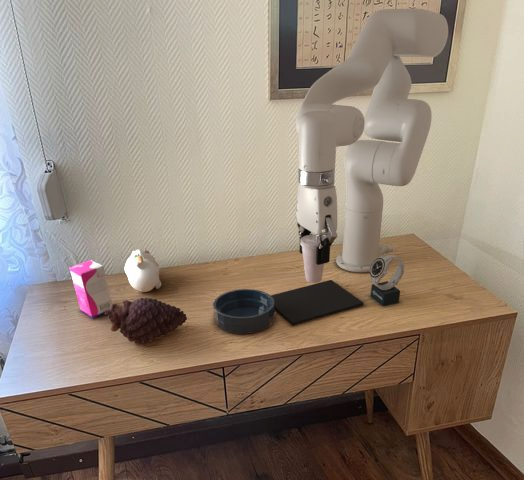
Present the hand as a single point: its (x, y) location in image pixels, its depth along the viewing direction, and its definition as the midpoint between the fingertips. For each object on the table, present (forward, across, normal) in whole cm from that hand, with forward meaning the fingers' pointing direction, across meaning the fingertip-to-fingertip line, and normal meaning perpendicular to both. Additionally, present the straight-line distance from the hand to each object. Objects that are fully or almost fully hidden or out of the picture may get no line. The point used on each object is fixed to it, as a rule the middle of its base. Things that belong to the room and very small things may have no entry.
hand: (314, 256), depth 118 cm
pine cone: (+12, +4, +38) cm, 40 cm away
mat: (+12, 0, 0) cm, 12 cm away
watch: (+12, -7, -16) cm, 21 cm away
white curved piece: (+12, +30, +32) cm, 46 cm away
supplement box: (+12, +22, +46) cm, 53 cm away
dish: (+12, +1, +17) cm, 21 cm away
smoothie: (+6, 0, 0) cm, 6 cm away
